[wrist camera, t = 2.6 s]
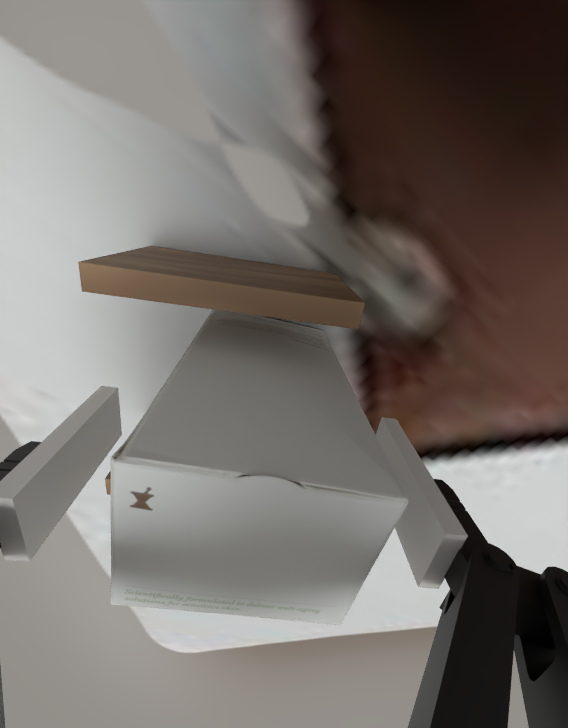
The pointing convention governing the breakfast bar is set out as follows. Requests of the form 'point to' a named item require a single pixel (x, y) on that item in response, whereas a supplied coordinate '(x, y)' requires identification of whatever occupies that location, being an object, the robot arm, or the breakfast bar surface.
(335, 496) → the skincare box
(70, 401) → the breakfast bar surface
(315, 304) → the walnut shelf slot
